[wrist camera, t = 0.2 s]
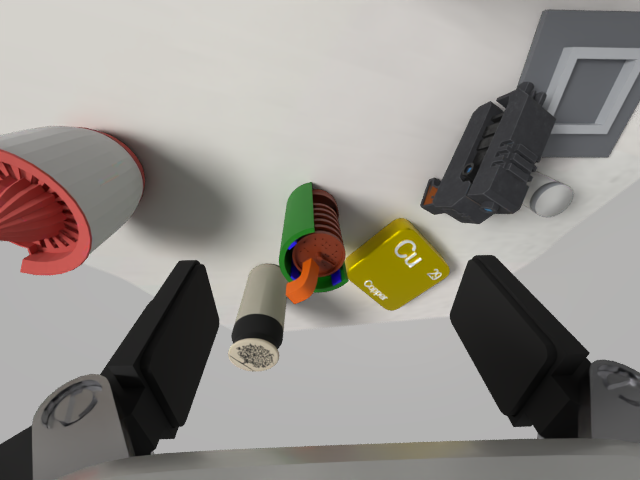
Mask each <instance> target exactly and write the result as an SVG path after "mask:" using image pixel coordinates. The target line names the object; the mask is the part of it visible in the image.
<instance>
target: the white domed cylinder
mask: <svg viewBox="0 0 640 480" xmlns="http://www.w3.org/2000/svg"><path fill="white" fill-rule="evenodd" d="M530 175H531V176H533V179H532V182H527V185H528V186H529V189H528V191H527V194H526V196H525V198H524V201H523V203H522V204H523V205H525V206H526V207H528V208H529V209H531V210H532V211H533V212H535V213H536V214H538V215H539V216H542V217H552V216H555V215H558V214H560V213H561V212H563V211H564V210H565V209H566V208H567V207H568V206H569V205H570V203H571V202H572V199H573V190H572V189H571V188H570V187H569V186H568V185H565V184H563V183H561V182H558V181H556V180H554V179H552V178H550V177H547V176H545V175H543V174H541V173H539V172H537V171H535V172H531V174H530Z"/></svg>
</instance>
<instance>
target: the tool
mask: <svg viewBox="0 0 640 480" xmlns="http://www.w3.org/2000/svg"><path fill="white" fill-rule="evenodd" d="M534 87H535V86H534V84H533V83H531V82H529V81H526V82H522V83H521V84H519V85H518V87H517V89H516V90H515V91H512V92H510V93H508V94H506V95H503V96H501V97H499V98H497V100H496V101H497V102H498V103H500V104H501V105H502V106H503V107H505V108H506V110H505V112H503V111H502V110H501V109H500V108H498V107H497V106H496V105H495V104H493V103H492V102H491V101H490V102H488V103H486V104H484V105H482V106H480V107H479V108H478V109H477V110H476V111H475V112H474V113H473V115H472V117H471V119H470V121H469V123H468V125H467V127H466V130H465V132H464V134H463V136H462V138H461V140H460V142H459V145H458V147H457V149H456V151H455V153H454V155H453V157H452V160H451V162H450V164H449V166H448V168H447V170H446V173H445V175H444V177H443V179H442V181H439V180H437V179H436V178H432V179H429V181H428V184H427V187H426V190H425V193H424V196H423V199H422V201H421V204H420V206H421V207H422V208H423V209H425V210H427V211H429V212H430V213H432V214H434V215H436V214H442V213H446V214H448V215H450V216H451V217H453V218H455V219H456V220H458V221H460V222H461V223H473V224H480V223H482V222H483V221H485V220H486V219H487V218H489V217H490V216H492V215H493V214H514V213H515V212H516V211H518V210H519V209H520V208H521V205H522V203H523V201H524V198H525V196H526V194H527V191H528V189H529V186H528V185H527V182H532V179H533V176H531V175H530V174H531V172H535V171H536V169H537V167H536V166H535V165H534V164H535V163H536V162H540V159H541V157H542V154H543V152H544V149H545V147H546V144H547V142H548V139H549V137H550V134H551V132H552V129H553V127H554V124H555V122H556V118H555V117H554V116H553V115H551V114H550V113H549V112H548V111H547V110H546V109H544V108H543V107H542V106H543V104H544V101H545V99H546V97H547V94H546V93H545V92H539V93H537V94H536V90H533V89H534Z"/></svg>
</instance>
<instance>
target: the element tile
mask: <svg viewBox="0 0 640 480" xmlns="http://www.w3.org/2000/svg"><path fill="white" fill-rule="evenodd" d="M345 266H346V271H347V276H348V279H349V280H350V281H351V282H353V283H354V284H355V285H356V286H357V287H359V288H360V289H361V290H362V291H364V292H365V293H366V294H367V295H369V296H370V297H371V298H372V299H374V300H375V301H376V302H377V303H379V304H380V305H381V306H382V307H383V308H385V309H387V310H396V309H398V308H400V307H402V306H403V305H405V304H406V303H408V302H409V301H411V300H412V299H414V298H415V297H417V296H419V295H420V294H422V293H423V292H425V291H426V290H428V289H429V288H431V287H432V286H434V285H435V284H437V283H439V282H440V281H442V280H443V279H445V278H446V277H447V276H448V275H449V272H450V269H449V266H448V265H447V263H446V262H445V261H444V259H443V258H442V256H441V255H440V254H439V253H438V252H437V251H436V249H435V248H434V247H433V246H432V245H431V244H430V243H429V242H428V241H427V240H426V239H425V238H424V237H423V236H422V235H421V233H420V232H419V231H418V230H417V229H416V228H415V227H414V226H413V225H412V224H411V223H410V222H409V221H408V220H406V219H404V218H399V219H396V220H394V221H392V222H391V223H390V224H388V225H387V226H386V227H385V228H383V229H382V230H381V231H380V232H378V233H377V234H376V235H375V236H373V237H372V238H371V239H370V240H368V241H367V242H366V243H364V244H363V245H362V246H361V247H359V248H358V249H357V250H356V251H354V252H353V253H352V254H351V255H349V256H348V257H347V258H346V260H345Z"/></svg>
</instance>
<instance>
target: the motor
mask: <svg viewBox="0 0 640 480" xmlns="http://www.w3.org/2000/svg"><path fill="white" fill-rule="evenodd" d="M338 217H339V212H338V207H337V203H336V201H335V199H334V198H333V196H332V195H331V194H329V193H328V192H326V191H324V190H320V189H312V182H310V183H306V184H303V185H301V186H299V187H298V188H297V189H295V190H294V191H293V192H292V194H291V195H290V197H289V199H288V201H287V206H286V213H285V220H284V227H283V234H282V241H281V248H280V255H279V266H280V270H281V272H282V274H283V276H284V277H285V279H286V280H287V281H288V282H289V283H287V285H286V296H287V297H288V298H289V299H290V300H291V301H292V302H293V303H294V304H296V303H299V302H301V301H304V300H306V299H307V298H309V297H310V296H311V295H312V294H313V292H327V291H331V290H334V289H337V288H339V287H341V286H343V285H344V284H346V283H347V282H348V281H349V280H348V276H347V271H346V266H345V261H344V260H345V249H344V244H343V240H342V235H341V230H340V226H339V221H338Z"/></svg>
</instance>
